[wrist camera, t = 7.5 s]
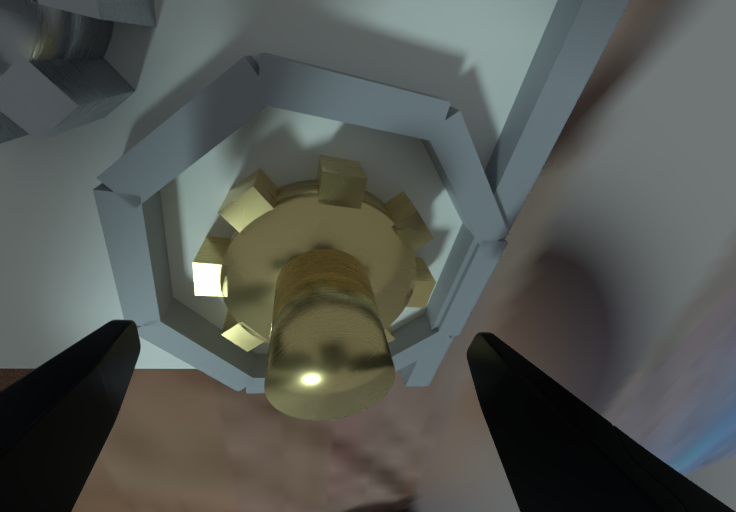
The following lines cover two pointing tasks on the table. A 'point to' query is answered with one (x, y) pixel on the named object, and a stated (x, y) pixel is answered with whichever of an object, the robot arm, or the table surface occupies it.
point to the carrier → (286, 160)
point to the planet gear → (317, 284)
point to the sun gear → (61, 63)
